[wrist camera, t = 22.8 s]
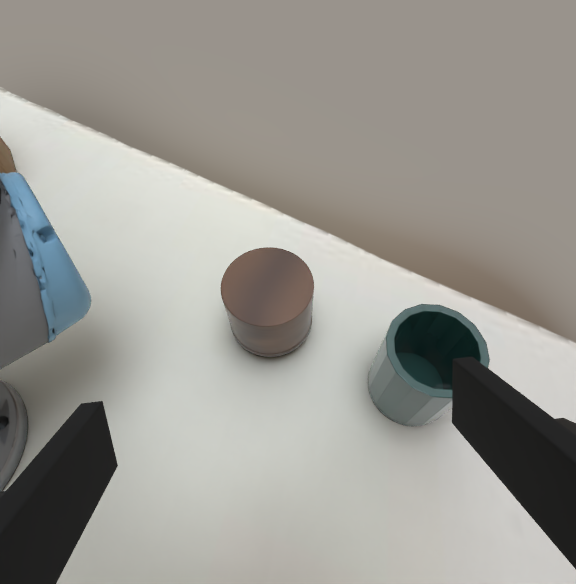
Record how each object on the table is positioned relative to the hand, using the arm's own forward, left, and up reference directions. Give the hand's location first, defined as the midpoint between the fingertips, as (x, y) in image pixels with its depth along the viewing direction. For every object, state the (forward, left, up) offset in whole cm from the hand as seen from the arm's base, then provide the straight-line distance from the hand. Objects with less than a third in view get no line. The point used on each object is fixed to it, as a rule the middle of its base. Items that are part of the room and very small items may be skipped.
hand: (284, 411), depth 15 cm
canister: (+7, +13, -25) cm, 29 cm away
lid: (-9, +13, -25) cm, 30 cm away
